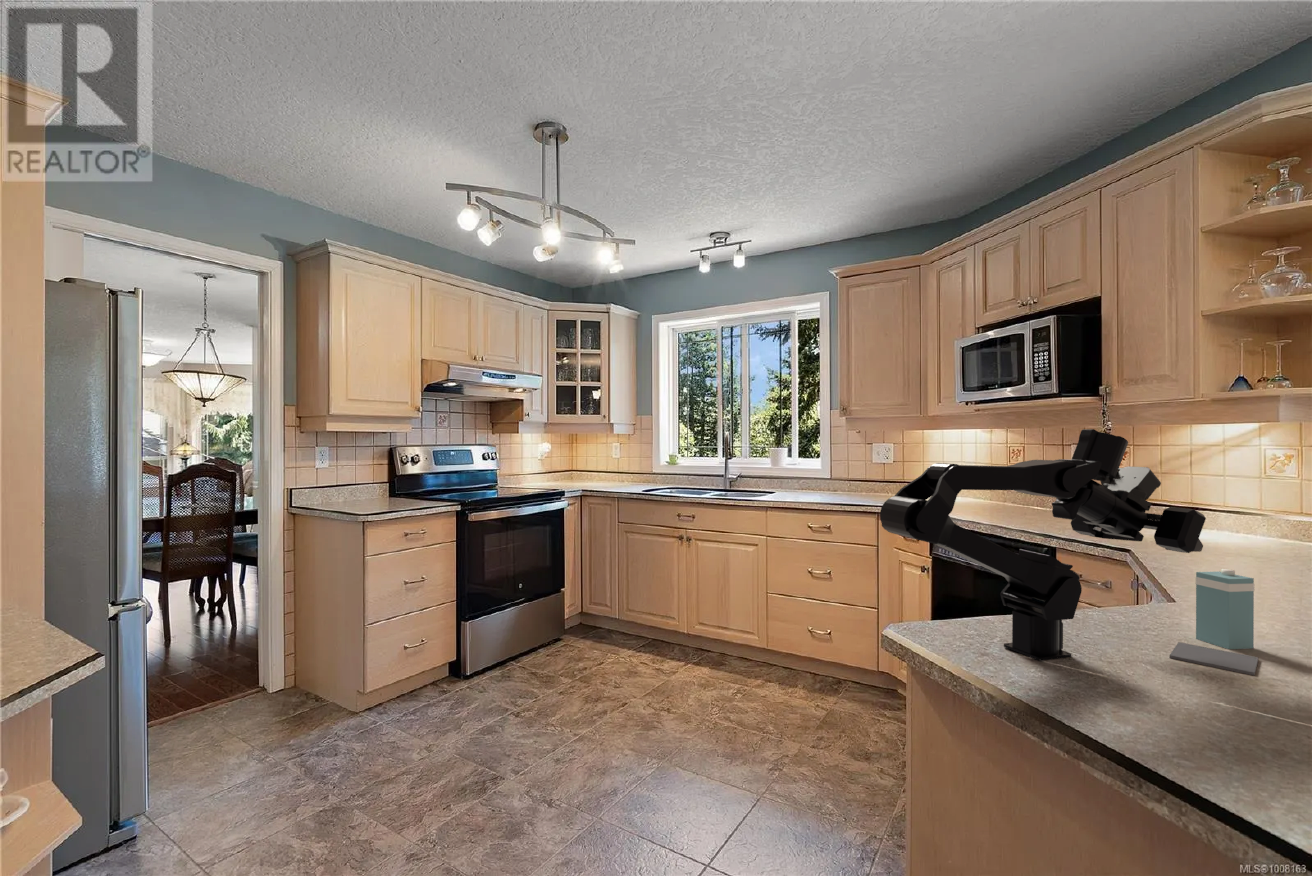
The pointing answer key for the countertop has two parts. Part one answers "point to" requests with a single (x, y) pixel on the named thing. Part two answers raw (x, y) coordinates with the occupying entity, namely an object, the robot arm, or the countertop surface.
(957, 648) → the countertop surface
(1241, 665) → the mat
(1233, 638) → the carton
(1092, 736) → the countertop surface
